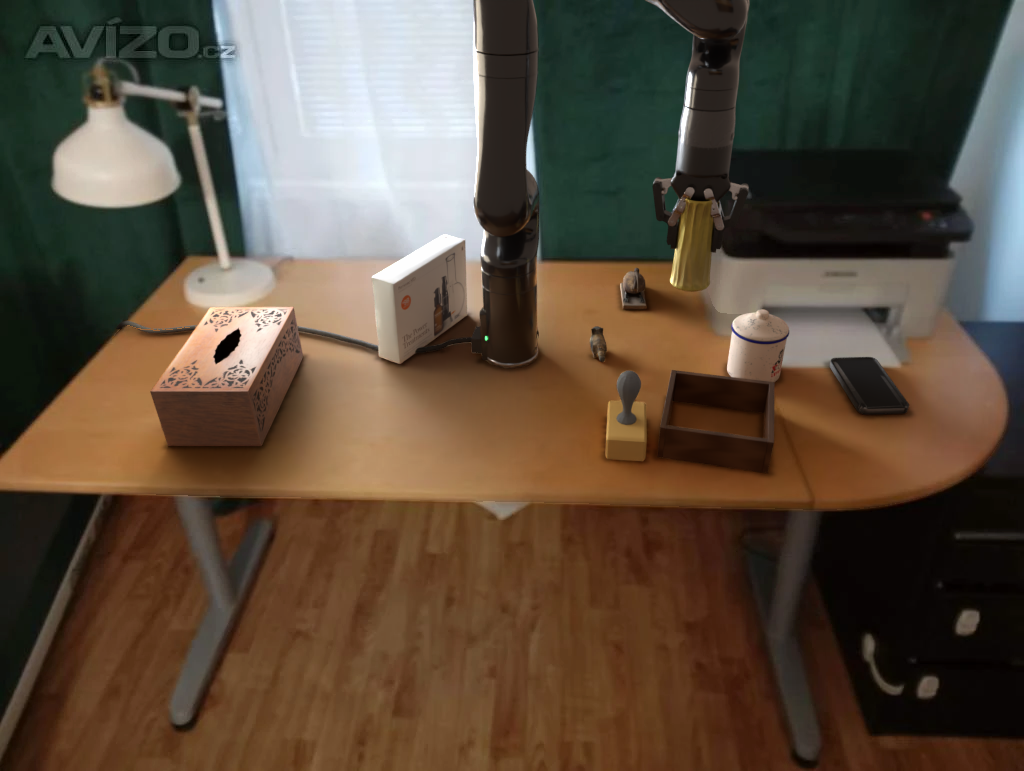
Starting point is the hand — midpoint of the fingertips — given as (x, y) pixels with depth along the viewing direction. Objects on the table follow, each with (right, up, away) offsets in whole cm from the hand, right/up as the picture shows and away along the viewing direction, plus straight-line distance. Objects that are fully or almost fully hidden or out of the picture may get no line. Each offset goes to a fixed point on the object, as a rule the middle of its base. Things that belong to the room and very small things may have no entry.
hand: (693, 248), depth 124 cm
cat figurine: (-12, -16, +19) cm, 28 cm away
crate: (+3, -28, -1) cm, 28 cm away
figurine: (-4, -5, +35) cm, 36 cm away
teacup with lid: (+13, -18, +14) cm, 27 cm away
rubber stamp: (-10, -29, -1) cm, 31 cm away
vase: (0, -5, +3) cm, 6 cm away
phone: (+30, -21, +9) cm, 38 cm away
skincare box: (-43, -12, +26) cm, 52 cm away
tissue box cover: (-72, -23, +11) cm, 77 cm away
